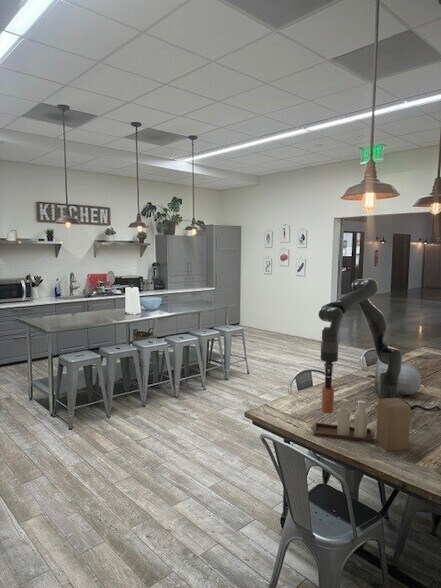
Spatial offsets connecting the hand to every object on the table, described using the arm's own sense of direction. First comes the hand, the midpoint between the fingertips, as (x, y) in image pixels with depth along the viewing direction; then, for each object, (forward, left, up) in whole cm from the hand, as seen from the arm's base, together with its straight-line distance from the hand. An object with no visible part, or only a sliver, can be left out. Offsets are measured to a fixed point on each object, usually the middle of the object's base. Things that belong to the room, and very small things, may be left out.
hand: (328, 386), depth 181 cm
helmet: (-37, -64, -23) cm, 77 cm away
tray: (-7, 0, -22) cm, 24 cm away
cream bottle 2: (-15, 0, -22) cm, 26 cm away
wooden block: (-27, +5, -23) cm, 36 cm away
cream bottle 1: (-7, 0, -22) cm, 23 cm away
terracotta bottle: (0, 0, -12) cm, 12 cm away
